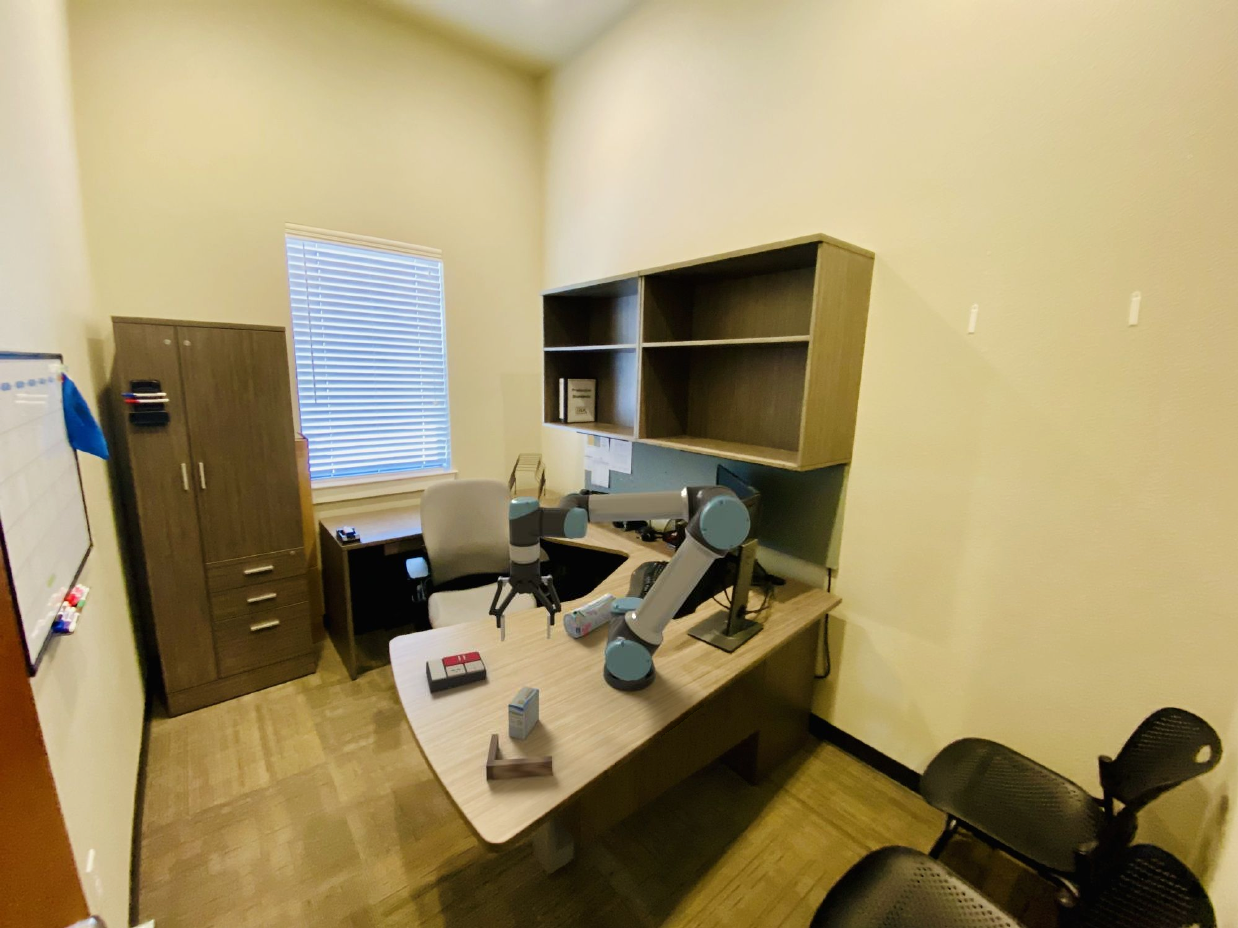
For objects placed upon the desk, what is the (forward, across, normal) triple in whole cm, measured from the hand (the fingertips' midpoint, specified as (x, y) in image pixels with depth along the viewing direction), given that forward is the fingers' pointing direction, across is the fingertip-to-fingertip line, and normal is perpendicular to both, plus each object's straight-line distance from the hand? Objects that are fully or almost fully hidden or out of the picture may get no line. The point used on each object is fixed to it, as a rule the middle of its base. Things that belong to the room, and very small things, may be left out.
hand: (526, 637), depth 129 cm
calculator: (+18, +21, -12) cm, 30 cm away
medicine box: (+18, 0, +11) cm, 21 cm away
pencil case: (+18, -20, -37) cm, 46 cm away
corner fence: (+18, 0, +22) cm, 28 cm away
